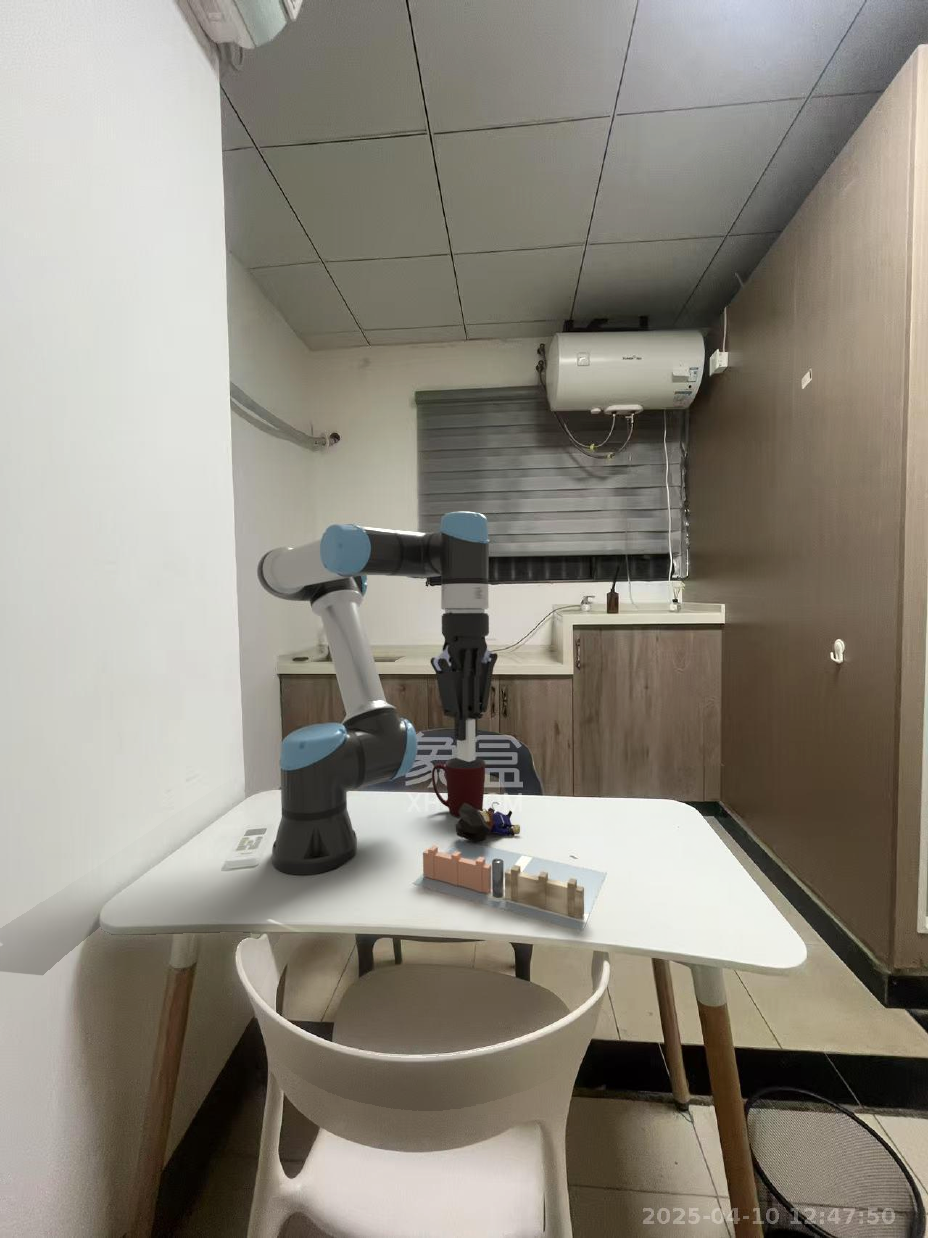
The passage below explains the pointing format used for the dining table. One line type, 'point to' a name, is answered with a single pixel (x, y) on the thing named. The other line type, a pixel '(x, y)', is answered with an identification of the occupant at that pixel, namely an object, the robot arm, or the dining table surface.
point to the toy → (483, 823)
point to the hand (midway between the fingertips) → (466, 758)
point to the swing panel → (457, 869)
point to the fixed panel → (544, 892)
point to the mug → (462, 784)
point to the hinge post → (497, 878)
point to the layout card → (530, 866)
